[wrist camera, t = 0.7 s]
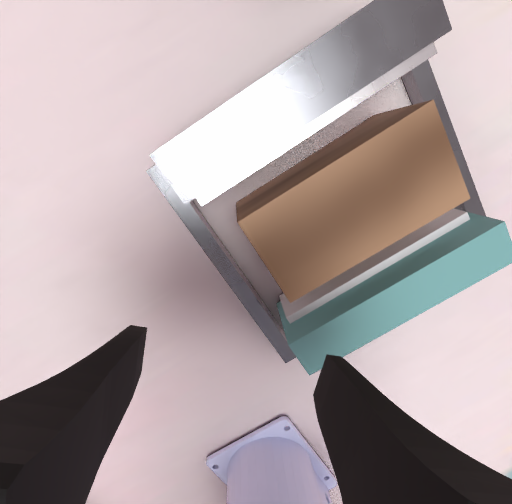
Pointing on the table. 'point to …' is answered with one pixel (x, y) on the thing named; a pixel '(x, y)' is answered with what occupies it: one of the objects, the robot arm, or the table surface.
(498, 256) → the block
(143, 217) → the table surface
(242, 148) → the vise
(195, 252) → the table surface
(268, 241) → the walnut block
